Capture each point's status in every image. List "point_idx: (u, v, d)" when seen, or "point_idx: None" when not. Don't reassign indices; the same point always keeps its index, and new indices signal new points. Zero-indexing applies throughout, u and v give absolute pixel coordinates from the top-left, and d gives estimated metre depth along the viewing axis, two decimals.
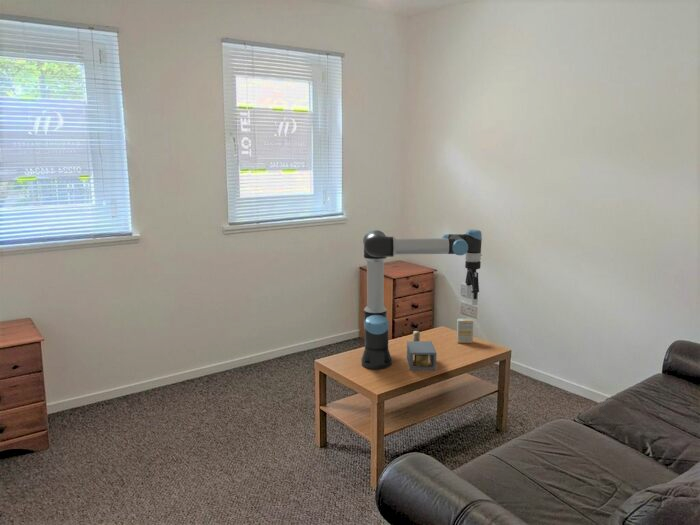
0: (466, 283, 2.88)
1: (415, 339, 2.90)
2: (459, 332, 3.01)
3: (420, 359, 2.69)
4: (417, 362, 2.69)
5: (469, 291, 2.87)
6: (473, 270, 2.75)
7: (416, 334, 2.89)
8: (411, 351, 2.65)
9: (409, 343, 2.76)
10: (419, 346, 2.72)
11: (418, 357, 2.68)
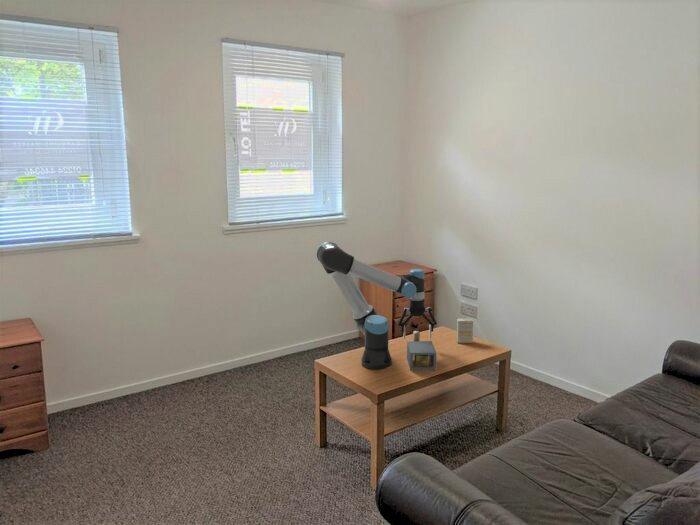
0: None
1: (415, 339, 2.90)
2: (459, 332, 3.01)
3: (420, 359, 2.69)
4: (417, 362, 2.69)
5: (429, 331, 2.90)
6: (410, 306, 2.88)
7: (416, 334, 2.89)
8: (411, 351, 2.65)
9: (409, 343, 2.76)
10: (419, 346, 2.72)
11: (418, 357, 2.68)
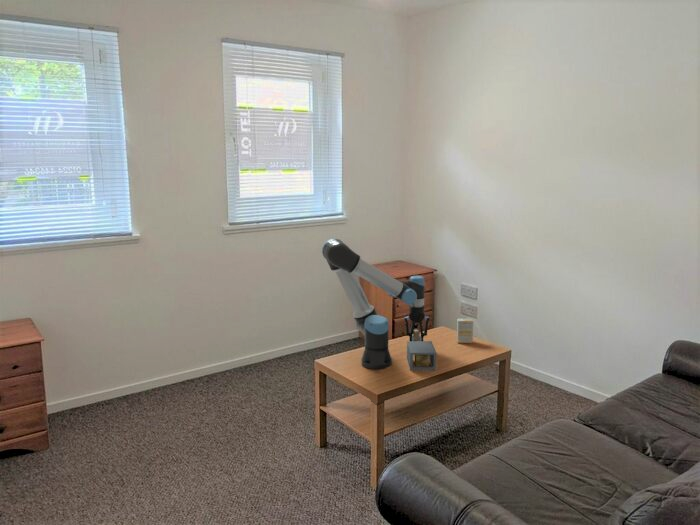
0: None
1: (415, 338, 2.90)
2: (459, 332, 3.01)
3: (421, 359, 2.69)
4: (417, 362, 2.69)
5: None
6: None
7: (416, 333, 2.89)
8: (411, 351, 2.65)
9: (409, 343, 2.76)
10: (419, 346, 2.72)
11: (418, 357, 2.69)
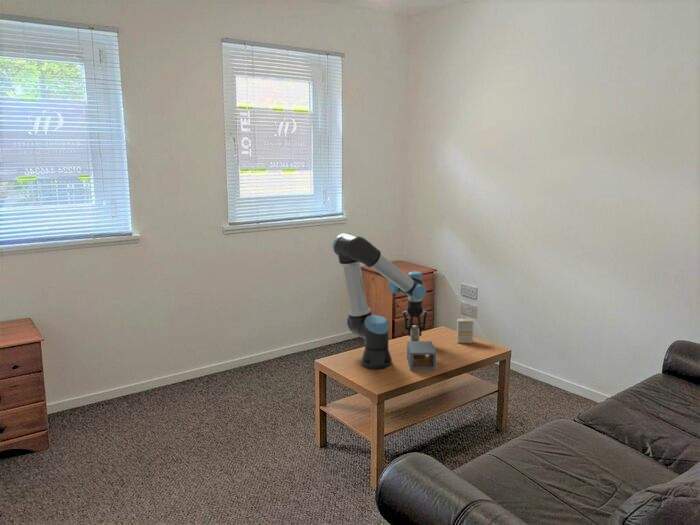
0: None
1: (413, 333, 2.99)
2: (459, 332, 3.01)
3: None
4: (414, 355, 2.79)
5: None
6: None
7: (414, 328, 2.99)
8: (411, 351, 2.65)
9: (409, 343, 2.76)
10: (419, 346, 2.72)
11: None
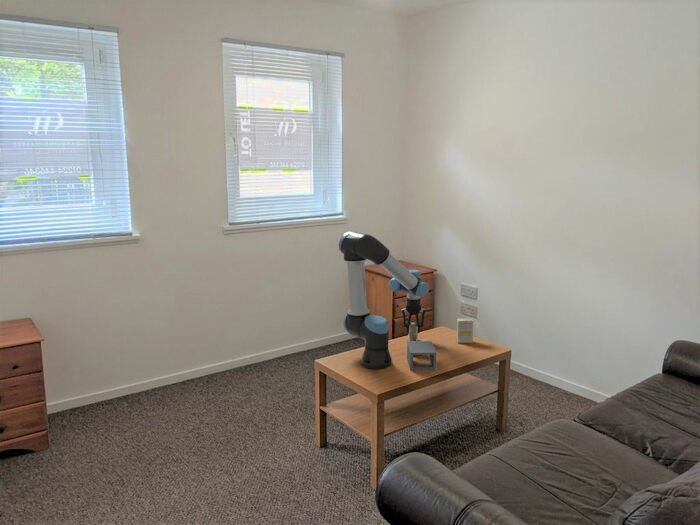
0: None
1: (412, 330, 3.04)
2: (459, 332, 3.01)
3: None
4: None
5: (416, 332, 3.06)
6: None
7: (413, 325, 3.03)
8: (411, 351, 2.65)
9: (409, 343, 2.76)
10: (419, 346, 2.72)
11: None
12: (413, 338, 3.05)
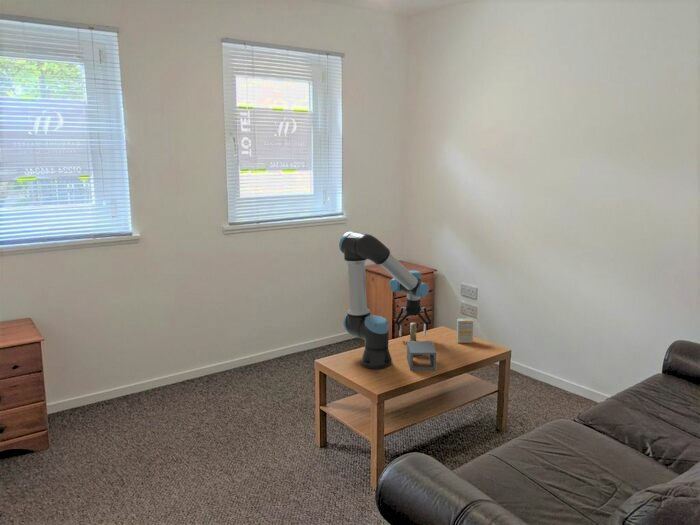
0: None
1: (412, 330, 3.04)
2: (459, 332, 3.01)
3: None
4: None
5: (424, 329, 3.05)
6: (406, 306, 3.04)
7: (413, 325, 3.03)
8: (411, 351, 2.65)
9: (409, 343, 2.76)
10: (419, 346, 2.72)
11: None
12: (413, 338, 3.05)
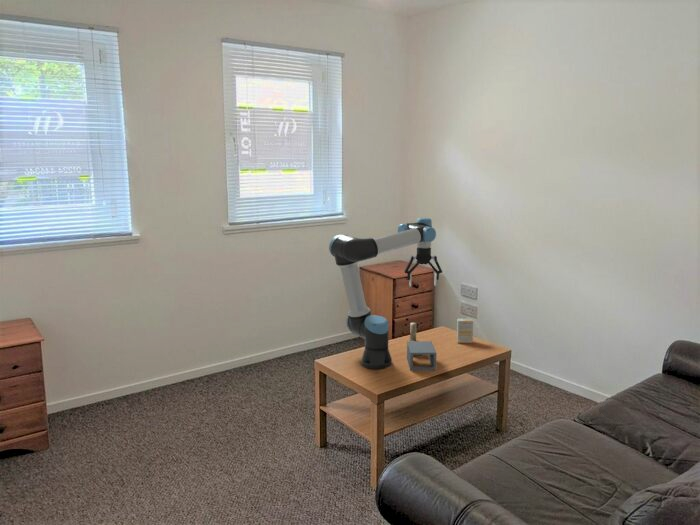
0: None
1: (412, 330, 3.04)
2: (459, 332, 3.01)
3: None
4: None
5: (434, 279, 2.98)
6: None
7: (413, 325, 3.03)
8: (411, 351, 2.65)
9: (409, 343, 2.76)
10: (419, 346, 2.72)
11: None
12: (413, 338, 3.05)
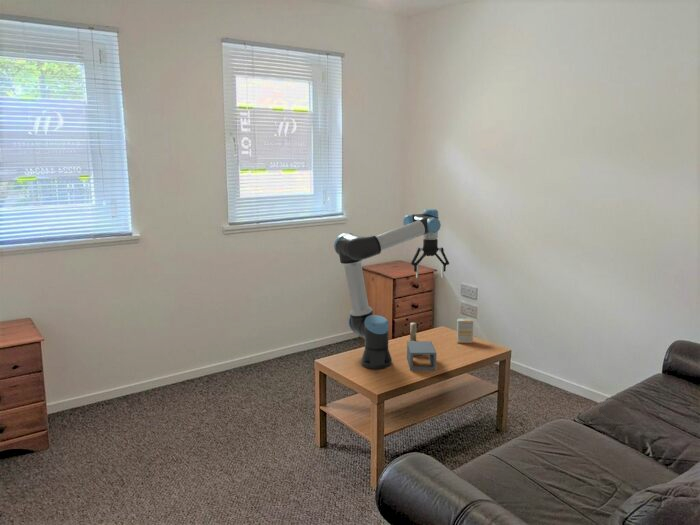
0: None
1: (412, 330, 3.04)
2: (459, 332, 3.01)
3: None
4: None
5: (441, 271, 2.95)
6: (423, 246, 2.93)
7: (413, 325, 3.03)
8: (411, 351, 2.65)
9: (409, 343, 2.76)
10: (419, 346, 2.72)
11: None
12: (413, 338, 3.05)
